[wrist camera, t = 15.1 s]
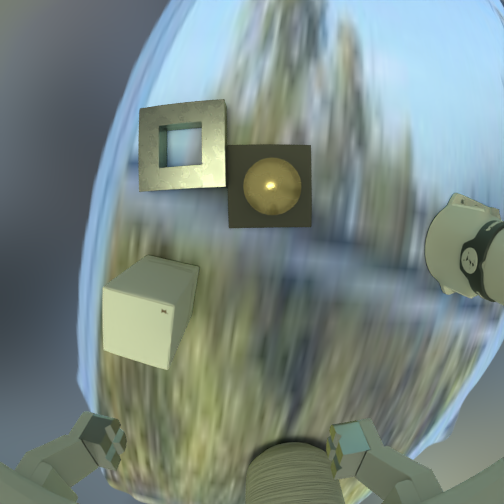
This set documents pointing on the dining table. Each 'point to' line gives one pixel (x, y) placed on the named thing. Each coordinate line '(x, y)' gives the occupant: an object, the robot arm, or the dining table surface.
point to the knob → (272, 186)
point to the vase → (292, 476)
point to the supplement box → (149, 310)
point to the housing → (176, 118)
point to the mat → (237, 168)
